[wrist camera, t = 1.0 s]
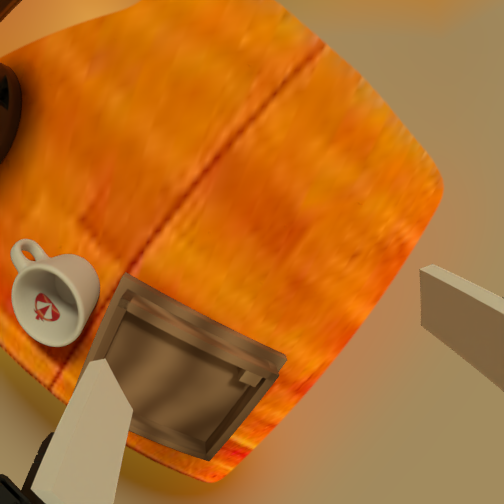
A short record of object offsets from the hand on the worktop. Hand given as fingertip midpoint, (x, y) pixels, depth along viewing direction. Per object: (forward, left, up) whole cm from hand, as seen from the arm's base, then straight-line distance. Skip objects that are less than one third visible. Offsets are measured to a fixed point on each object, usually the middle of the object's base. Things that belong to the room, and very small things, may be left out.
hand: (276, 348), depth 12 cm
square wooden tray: (+2, -18, -22) cm, 28 cm away
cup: (-14, -12, -22) cm, 29 cm away
